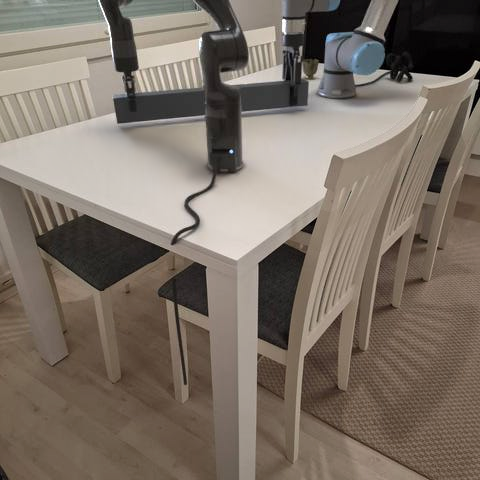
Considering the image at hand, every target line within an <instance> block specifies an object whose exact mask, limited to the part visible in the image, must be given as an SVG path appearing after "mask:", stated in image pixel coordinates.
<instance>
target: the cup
mask: <svg viewBox="0 0 480 480" xmlns="http://www.w3.org/2000/svg"><path fill="white" fill-rule="evenodd" d="M319 62H320V60H319V59H316V58H315V59H312V58H310V59H309V58H306V59H304V58H303V61H302V73H303V74H304V75H305V79H306V80H313V79H314V78H315V77H314V75H316V74H317V72H318V67H319V64H320V63H319Z"/></svg>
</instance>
